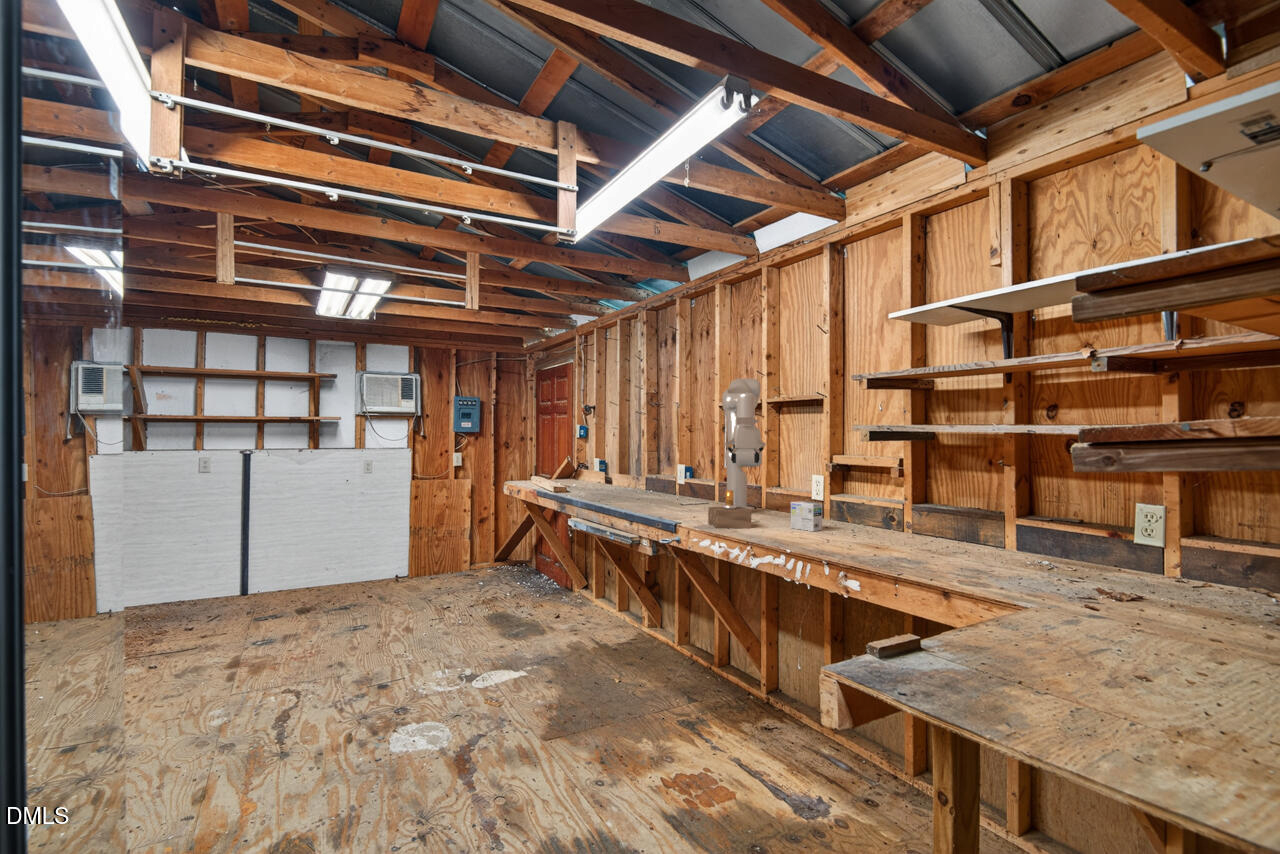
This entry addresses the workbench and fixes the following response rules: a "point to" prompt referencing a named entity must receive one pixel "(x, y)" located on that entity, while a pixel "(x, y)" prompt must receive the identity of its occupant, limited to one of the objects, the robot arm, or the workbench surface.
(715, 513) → the block
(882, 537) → the workbench surface
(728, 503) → the multicoloured piece
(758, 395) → the robot arm
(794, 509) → the light bulb box
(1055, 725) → the workbench surface
